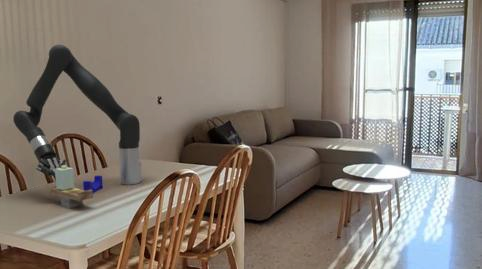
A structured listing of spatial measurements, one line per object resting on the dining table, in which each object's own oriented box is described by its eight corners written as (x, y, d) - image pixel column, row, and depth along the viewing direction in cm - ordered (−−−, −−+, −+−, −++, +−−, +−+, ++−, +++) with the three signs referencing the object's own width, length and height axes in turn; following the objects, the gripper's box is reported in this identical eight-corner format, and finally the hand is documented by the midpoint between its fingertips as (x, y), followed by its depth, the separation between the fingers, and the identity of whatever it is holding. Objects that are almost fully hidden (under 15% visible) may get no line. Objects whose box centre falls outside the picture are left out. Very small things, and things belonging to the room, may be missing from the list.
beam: (64, 199, 194) (63, 182, 193) (93, 207, 182) (92, 189, 181) (51, 202, 189) (50, 185, 188) (79, 211, 177) (78, 193, 176)
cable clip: (93, 188, 213) (92, 175, 212) (102, 188, 212) (102, 175, 211) (80, 195, 201) (79, 181, 200) (90, 195, 200) (89, 181, 200)
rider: (67, 185, 190) (65, 163, 189) (74, 187, 187) (73, 165, 186) (56, 188, 186) (54, 166, 185) (63, 190, 183) (61, 167, 182)
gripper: (30, 145, 187) (48, 179, 181) (60, 141, 197) (78, 172, 192) (24, 156, 191) (42, 190, 185) (54, 152, 201) (72, 183, 196)
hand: (60, 181), depth 189 cm, fingers closed
